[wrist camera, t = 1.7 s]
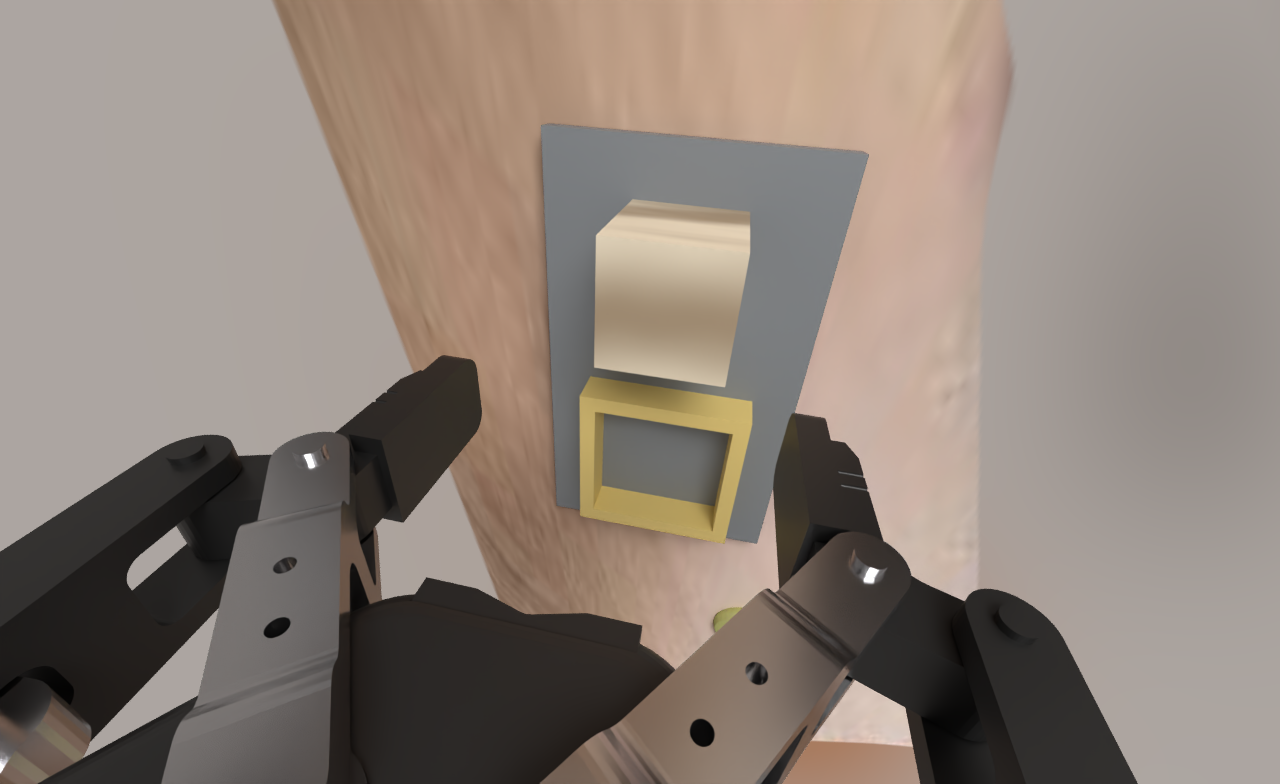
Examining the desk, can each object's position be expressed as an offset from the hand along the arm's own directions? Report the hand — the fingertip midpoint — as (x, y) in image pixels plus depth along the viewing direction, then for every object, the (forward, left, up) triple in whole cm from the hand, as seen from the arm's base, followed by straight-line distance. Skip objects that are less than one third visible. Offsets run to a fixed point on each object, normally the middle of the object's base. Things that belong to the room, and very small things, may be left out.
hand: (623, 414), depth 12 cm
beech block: (0, 0, -12) cm, 12 cm away
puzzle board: (+6, 0, -13) cm, 14 cm away
